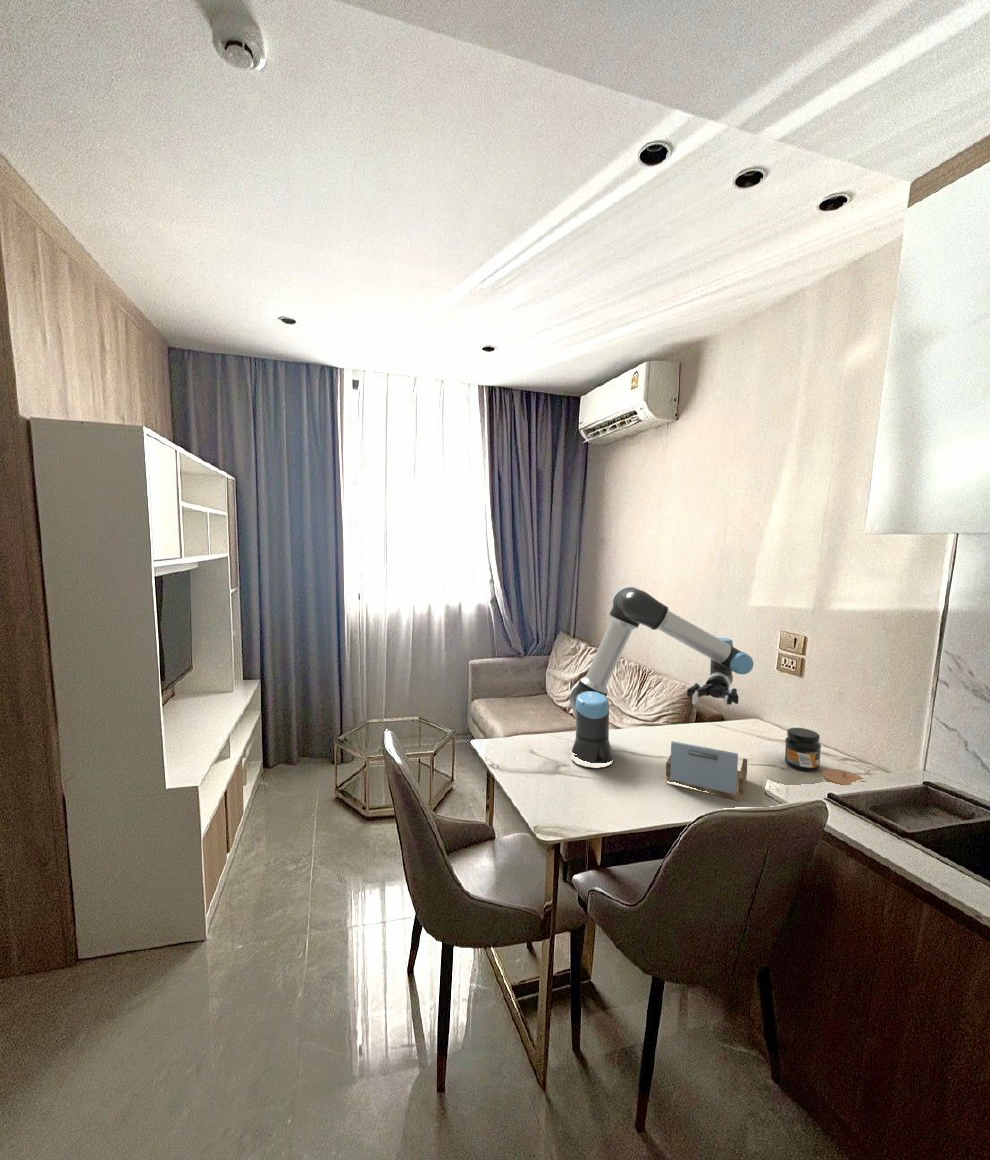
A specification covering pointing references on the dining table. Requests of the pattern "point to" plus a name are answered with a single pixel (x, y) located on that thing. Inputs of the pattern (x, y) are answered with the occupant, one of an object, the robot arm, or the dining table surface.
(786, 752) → the supplement container
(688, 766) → the tailgate
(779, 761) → the dining table surface
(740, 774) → the cart bed
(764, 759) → the dining table surface
